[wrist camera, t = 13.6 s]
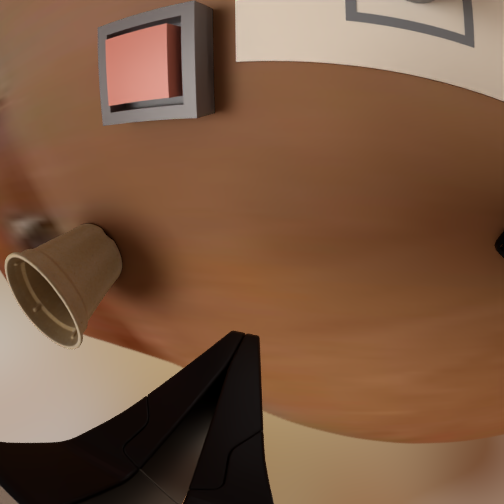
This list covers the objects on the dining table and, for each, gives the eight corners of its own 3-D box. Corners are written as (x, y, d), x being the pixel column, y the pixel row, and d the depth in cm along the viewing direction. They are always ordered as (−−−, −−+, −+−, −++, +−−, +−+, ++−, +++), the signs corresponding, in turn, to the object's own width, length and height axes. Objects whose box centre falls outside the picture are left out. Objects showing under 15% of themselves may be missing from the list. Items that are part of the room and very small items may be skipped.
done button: (186, 28, 14) (166, 23, 12) (188, 94, 16) (168, 97, 15) (128, 41, 15) (105, 40, 13) (131, 101, 17) (108, 106, 16)
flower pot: (100, 189, 23) (23, 239, 16) (156, 281, 26) (99, 348, 19) (54, 225, 27) (-5, 269, 20) (100, 297, 31) (52, 350, 24)
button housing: (212, 8, 14) (194, 0, 12) (214, 113, 17) (196, 117, 15) (121, 29, 16) (97, 27, 14) (125, 119, 19) (103, 125, 17)
